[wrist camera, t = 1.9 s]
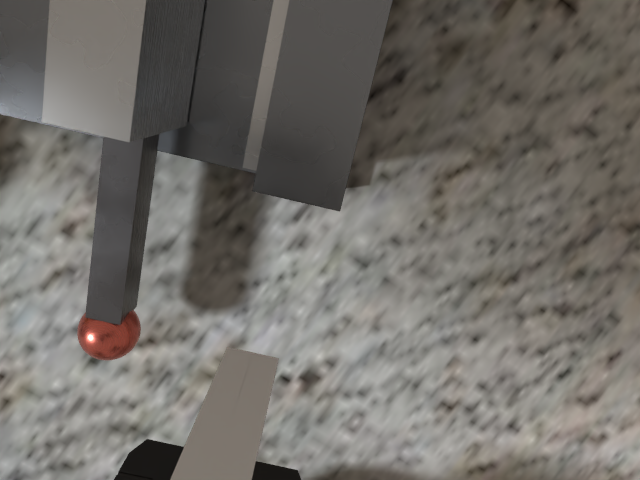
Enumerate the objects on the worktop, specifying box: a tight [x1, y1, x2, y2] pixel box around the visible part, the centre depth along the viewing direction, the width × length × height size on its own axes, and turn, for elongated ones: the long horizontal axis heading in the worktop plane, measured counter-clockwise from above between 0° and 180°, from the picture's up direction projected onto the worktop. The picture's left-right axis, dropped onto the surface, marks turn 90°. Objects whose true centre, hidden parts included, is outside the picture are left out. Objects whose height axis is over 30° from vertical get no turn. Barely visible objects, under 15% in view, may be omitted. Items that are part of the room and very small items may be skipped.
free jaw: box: [42, 0, 205, 360], centre depth 21 cm, size 3×20×7 cm, turn 167°
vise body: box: [0, 0, 393, 211], centre depth 20 cm, size 21×12×9 cm, turn 77°
